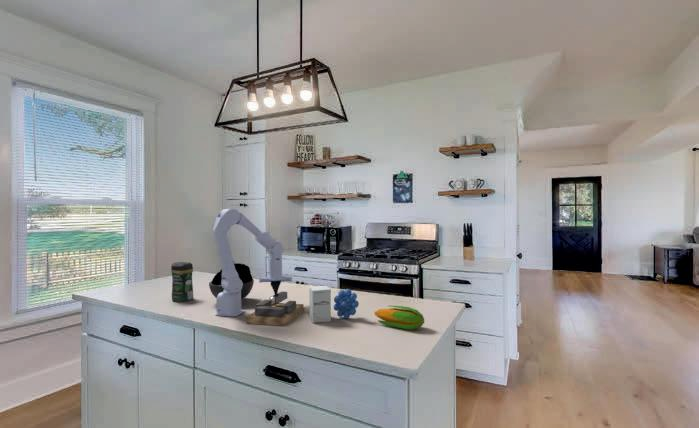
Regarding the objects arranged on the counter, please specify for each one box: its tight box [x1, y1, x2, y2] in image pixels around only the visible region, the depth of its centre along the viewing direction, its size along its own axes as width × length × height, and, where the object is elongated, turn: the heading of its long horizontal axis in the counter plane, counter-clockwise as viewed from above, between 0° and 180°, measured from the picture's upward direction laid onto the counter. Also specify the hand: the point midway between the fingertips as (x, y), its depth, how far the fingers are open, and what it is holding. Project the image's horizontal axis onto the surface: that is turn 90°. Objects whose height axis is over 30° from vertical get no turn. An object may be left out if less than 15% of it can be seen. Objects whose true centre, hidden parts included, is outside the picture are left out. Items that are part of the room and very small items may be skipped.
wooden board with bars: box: [245, 299, 305, 327], centre depth 140 cm, size 16×20×6 cm
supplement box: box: [308, 285, 332, 324], centre depth 135 cm, size 7×7×13 cm
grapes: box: [333, 288, 360, 320], centre depth 137 cm, size 12×7×12 cm, turn 58°
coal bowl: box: [208, 260, 255, 301], centre depth 162 cm, size 20×20×19 cm
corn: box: [374, 305, 425, 331], centre depth 126 cm, size 7×8×20 cm
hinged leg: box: [268, 291, 288, 306], centre depth 153 cm, size 12×3×3 cm, turn 164°
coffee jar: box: [170, 261, 194, 302], centre depth 168 cm, size 10×8×19 cm
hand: (276, 297), depth 157 cm, fingers closed
